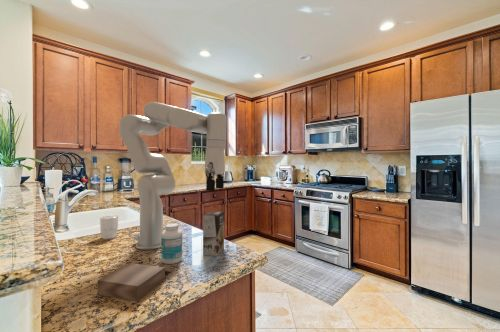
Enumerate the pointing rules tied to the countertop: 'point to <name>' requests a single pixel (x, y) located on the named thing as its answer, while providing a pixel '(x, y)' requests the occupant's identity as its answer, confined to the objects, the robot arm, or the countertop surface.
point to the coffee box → (213, 233)
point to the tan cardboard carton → (132, 281)
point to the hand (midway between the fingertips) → (215, 189)
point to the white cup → (109, 226)
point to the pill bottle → (171, 244)
